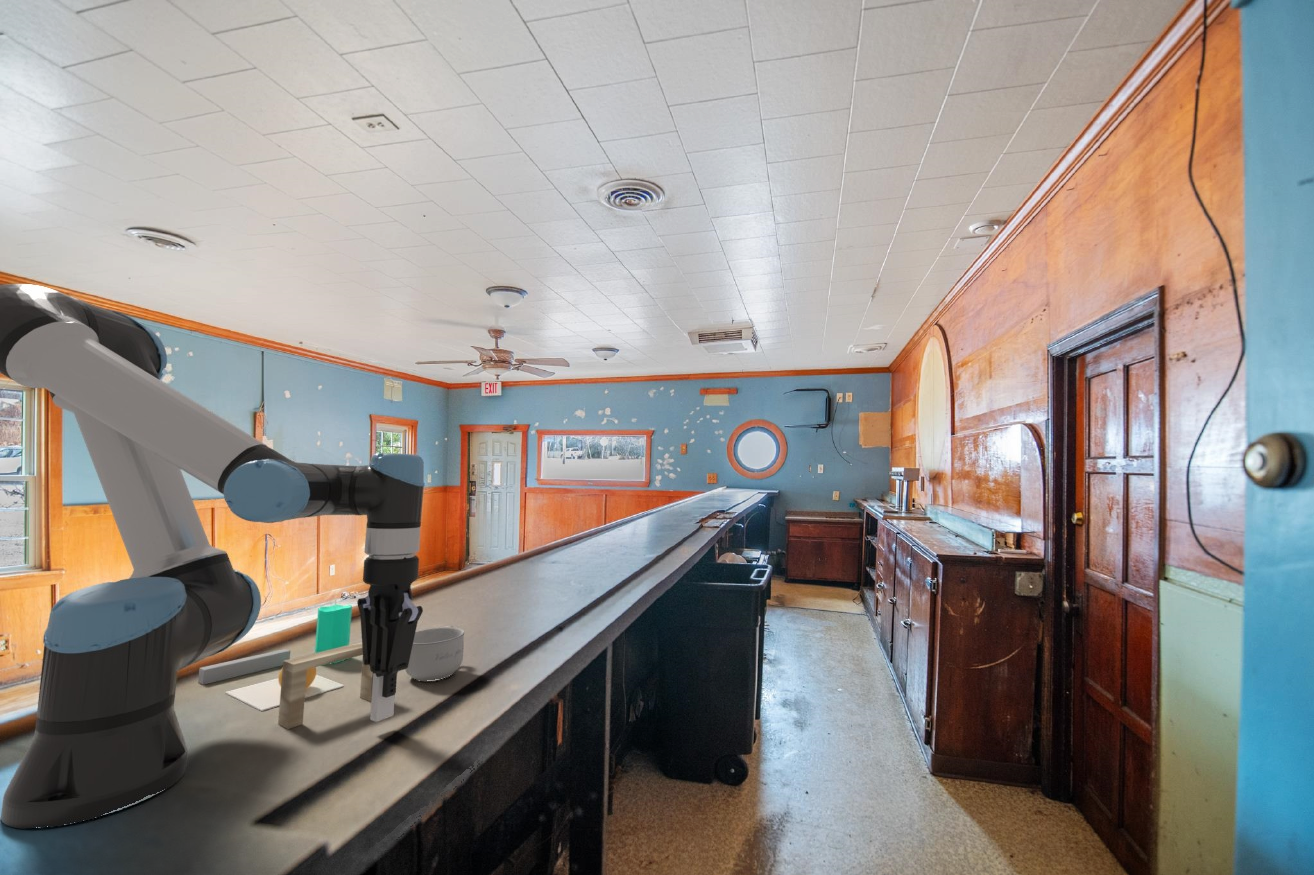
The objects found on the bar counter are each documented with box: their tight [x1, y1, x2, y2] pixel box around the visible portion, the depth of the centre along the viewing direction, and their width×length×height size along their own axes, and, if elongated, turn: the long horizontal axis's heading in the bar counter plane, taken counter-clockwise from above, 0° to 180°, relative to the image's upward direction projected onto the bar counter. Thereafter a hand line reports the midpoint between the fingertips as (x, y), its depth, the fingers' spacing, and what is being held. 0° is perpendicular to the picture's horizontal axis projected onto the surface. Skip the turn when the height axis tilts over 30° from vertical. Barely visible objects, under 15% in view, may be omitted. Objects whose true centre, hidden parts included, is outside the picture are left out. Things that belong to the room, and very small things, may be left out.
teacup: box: [404, 625, 465, 682], centre depth 105 cm, size 14×11×8 cm
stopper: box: [197, 648, 291, 685], centre depth 103 cm, size 14×2×2 cm, turn 149°
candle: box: [314, 599, 353, 665], centre depth 112 cm, size 6×6×12 cm
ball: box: [277, 667, 317, 689], centre depth 95 cm, size 6×6×6 cm
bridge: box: [277, 641, 373, 730], centre depth 88 cm, size 3×14×9 cm, turn 149°
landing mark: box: [224, 674, 345, 712], centre depth 95 cm, size 13×13×1 cm
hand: (381, 717), depth 81 cm, fingers closed
